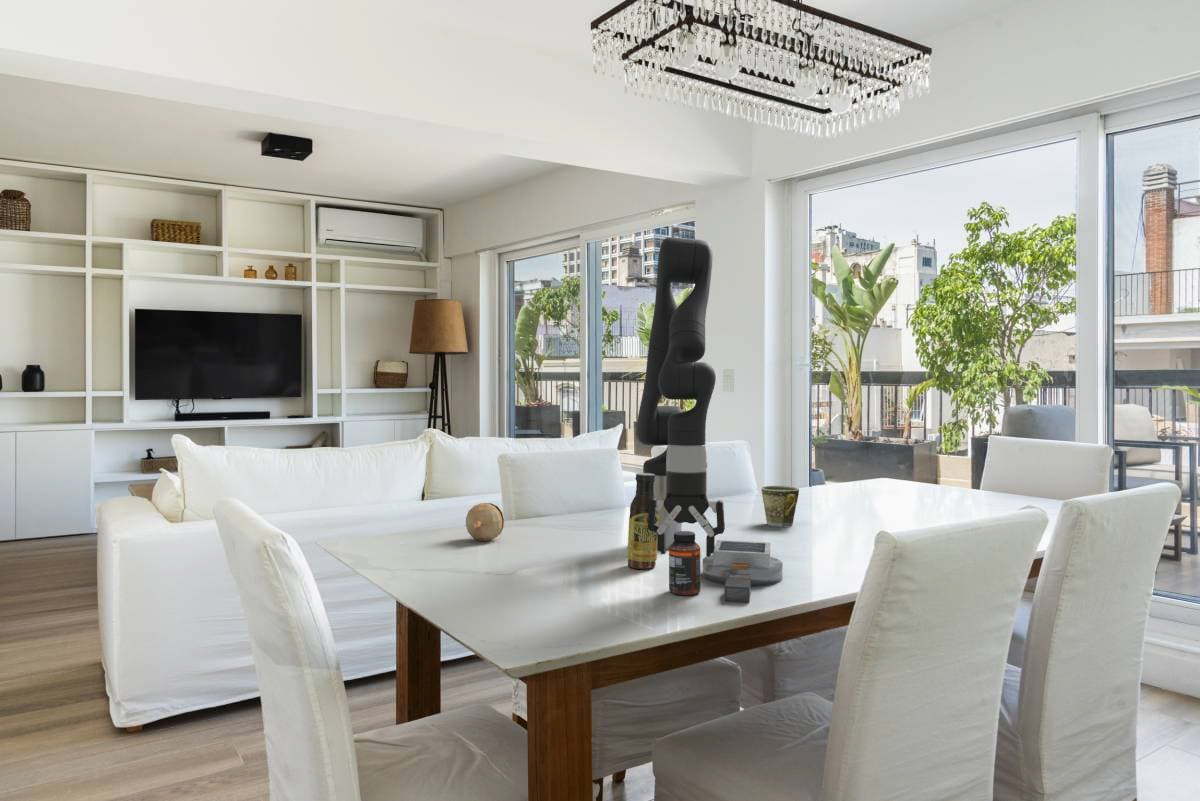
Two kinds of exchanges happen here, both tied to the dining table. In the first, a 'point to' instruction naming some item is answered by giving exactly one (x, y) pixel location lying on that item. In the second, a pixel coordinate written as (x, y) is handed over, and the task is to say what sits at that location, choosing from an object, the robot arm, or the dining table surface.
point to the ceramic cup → (780, 504)
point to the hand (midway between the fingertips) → (685, 554)
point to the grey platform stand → (742, 568)
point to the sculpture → (485, 521)
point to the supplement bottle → (684, 564)
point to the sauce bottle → (642, 525)
